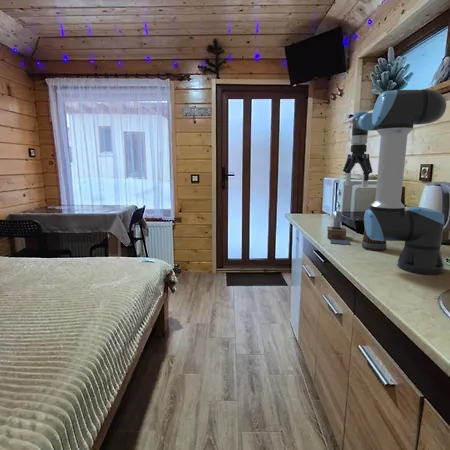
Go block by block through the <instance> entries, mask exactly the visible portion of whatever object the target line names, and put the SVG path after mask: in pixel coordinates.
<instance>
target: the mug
mask: <svg viewBox="0 0 450 450" xmlns="http://www.w3.org/2000/svg"><path fill="white" fill-rule="evenodd" d="M361 241H362V242H361V247H362V248H363V249H364V250H366V251H367V250H368V251H374V252H375V251H376V252H381V251H385V250H386V249H387V241H379V240H371V239H370V238H369V237H368V236H367V234H366V231H365V230H364V231H363V237H362V240H361Z"/></svg>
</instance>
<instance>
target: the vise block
mask: <svg viewBox="0 0 450 450" xmlns="http://www.w3.org/2000/svg"><path fill="white" fill-rule="evenodd" d="M326 228H327V230H326V231H327V234H326V235H327V236H326V237H327V240H331V239H341V240H347V228H346V227H345V226H341V227H340V230H339V229H333V226H327V227H326Z"/></svg>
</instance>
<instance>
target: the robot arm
mask: <svg viewBox="0 0 450 450" xmlns="http://www.w3.org/2000/svg"><path fill="white" fill-rule="evenodd" d="M446 110H447V102H446V99H445V96H443V94H441V92H439V91H437V90H434V89H428V88H424V89H393V90H385V91H382V92H381V93H380V94H379V96H378V97H377V99H376V101H375V104H374V107H373V110H372V112H368V111H360V112H355V113H353V115H352V120H351V121H352V127H351V128H352V129H351V139H350V144H351V145H350V152H351V154H349V153H348V154H347V158H346V161H345V164H344V166H343V169H342V172H343V173H345V182H344V186H351V182H352V181H351V180H352V170H353V169H354V167H355V166H356V164H359V165H360V168H361V171H362V173H363V174H362V179H361V188H368V185H369V184H368V183H369V179H370V177H369V176H370V174H373V168H372V164H371V161H370V154H369V153H366V152H367V148H368V147H367V144H368V137H369V134H368V133H369V132H370V131H373V132H374V131H375V132H377V133H378V134H379V135H380V141H379V152H378V153H379V154H378V165H377V166H378V167H377V175H376V187H375V200H374V201H373V202H372V203H371V204H370V208H369V209H366V210H365V212H364V215H363V224H364V231H366V234H367V236H368V237H369V238H370V239H371V240H379V241H386V242H404V247H403V249H402V251H401V253H400V254H399V257H398V258H397V264H396V265H397V267H398V268H399V269H402V270H404V271H406V272H410V273H415V274H421V275H430V276H431V275H432V276H433V275H440V274H443V272H444V268H445V265H444V260H443V257H442V253H441V246H442V239H443V232H444V226H445V214H444V213H443V212H442V211H440V210H437V209H432V208H428V207H421V206H410V205H409V207H408V208H407V210H405V209H406V207H405V204H403V203H402V194H403V193H402V191H403V184H404V183H403V182H404V173H405V162H406V153H407V146H408V145H407V143H408V135H409V134H410V133H411V132H412V131H413V130H414V126H415V125H428V124H432V123H435V122H437V121H438V120H440V119H441V118H442V117H443V116H444V114H445V112H446Z"/></svg>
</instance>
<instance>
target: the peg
mask: <svg viewBox="0 0 450 450" xmlns="http://www.w3.org/2000/svg"><path fill="white" fill-rule="evenodd" d="M341 223H342V211H336V210H335V211H334V215H333V226H332V227H333V229H339V230H340V227H342V226H341V225H342V224H341Z"/></svg>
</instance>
